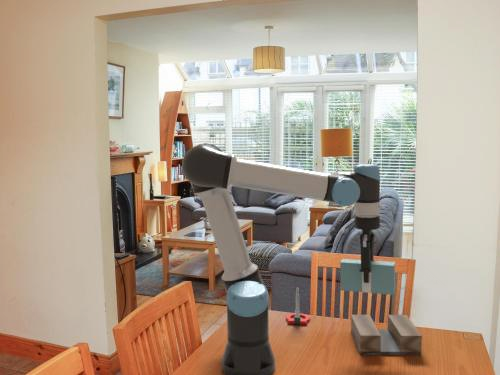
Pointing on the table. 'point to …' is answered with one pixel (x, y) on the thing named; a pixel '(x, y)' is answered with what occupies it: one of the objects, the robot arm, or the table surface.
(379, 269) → the teal beam
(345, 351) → the table surface
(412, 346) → the grey grooved block
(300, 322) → the tow hook
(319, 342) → the table surface
